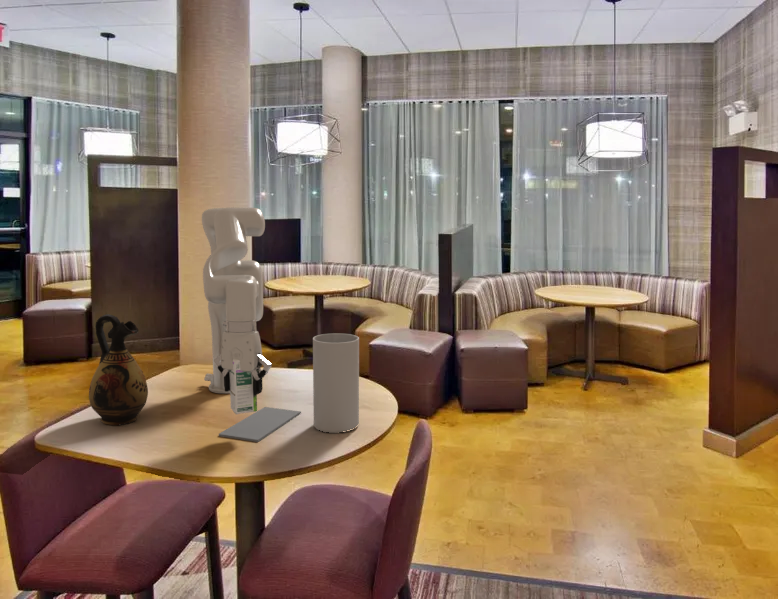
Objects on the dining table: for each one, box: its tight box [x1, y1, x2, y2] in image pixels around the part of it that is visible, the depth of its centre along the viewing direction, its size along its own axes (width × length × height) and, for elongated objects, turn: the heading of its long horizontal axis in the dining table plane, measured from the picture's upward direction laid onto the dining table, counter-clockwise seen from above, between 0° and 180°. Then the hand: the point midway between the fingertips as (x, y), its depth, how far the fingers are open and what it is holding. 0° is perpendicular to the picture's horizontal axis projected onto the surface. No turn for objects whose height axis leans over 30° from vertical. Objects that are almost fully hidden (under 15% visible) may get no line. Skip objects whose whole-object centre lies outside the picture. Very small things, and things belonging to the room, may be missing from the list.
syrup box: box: [229, 359, 258, 415], centre depth 166 cm, size 6×6×14 cm
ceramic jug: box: [88, 313, 149, 427], centre depth 177 cm, size 17×15×30 cm
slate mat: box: [218, 406, 302, 443], centre depth 176 cm, size 12×24×1 cm, turn 161°
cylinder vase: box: [312, 332, 360, 434], centre depth 174 cm, size 12×12×25 cm
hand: (243, 391), depth 166 cm, fingers closed on syrup box, 8 cm apart
